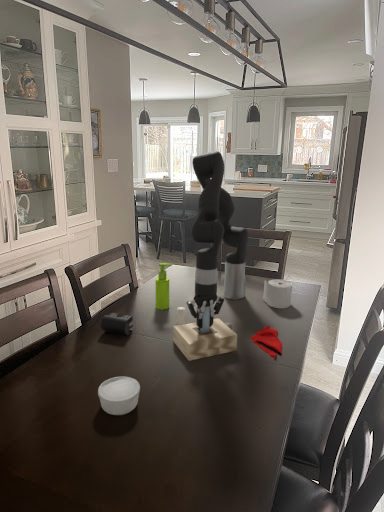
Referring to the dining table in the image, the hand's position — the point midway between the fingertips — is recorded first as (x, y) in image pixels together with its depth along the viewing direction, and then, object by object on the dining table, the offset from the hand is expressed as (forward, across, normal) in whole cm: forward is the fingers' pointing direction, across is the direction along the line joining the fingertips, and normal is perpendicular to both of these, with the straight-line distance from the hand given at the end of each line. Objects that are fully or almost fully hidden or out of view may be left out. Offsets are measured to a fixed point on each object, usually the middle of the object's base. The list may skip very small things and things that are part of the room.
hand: (204, 326), depth 133 cm
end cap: (+8, +26, -21) cm, 34 cm away
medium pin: (+8, +2, -17) cm, 19 cm away
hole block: (+8, 0, 0) cm, 8 cm away
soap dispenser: (+8, +2, -37) cm, 38 cm away
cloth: (+8, -24, +5) cm, 26 cm away
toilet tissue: (+8, -47, -22) cm, 53 cm away
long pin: (+4, 0, 0) cm, 4 cm away
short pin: (+8, -11, -3) cm, 14 cm away
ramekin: (+8, +35, +20) cm, 41 cm away
